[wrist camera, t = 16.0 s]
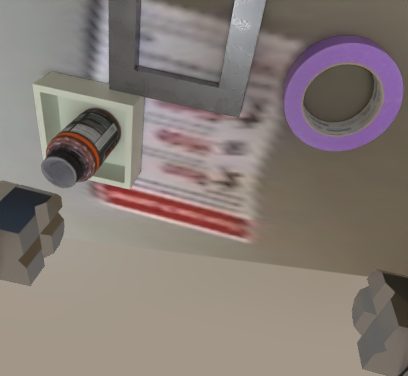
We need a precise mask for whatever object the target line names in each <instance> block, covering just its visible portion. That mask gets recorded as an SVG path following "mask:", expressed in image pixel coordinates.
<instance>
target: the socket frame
mask: <svg viewBox="0 0 408 376" xmlns="http://www.w3.org/2000/svg"><path fill="white" fill-rule="evenodd" d="M265 3H266V0H235V2H234V8H233V13H232V19H231V24H230V30H229V35H228V41H227V46H226V51H225V57H224V62H223V68H222V73H221V79H220V83H215V82H211V81H206V80H201V79H197V78H192V77H187V76H182V75H178V74H173V73H168V72H164V71H159V70H154V69H150V68H145V67H140V66H138V61H139V37H140V12H141V0H109V89H110V90H115V91H119V92H124V93H128V94H133V95H138V96H142V97H147V98H151V99H156V100H161V101H165V102H170V103H174V104H179V105H184V106H188V107H193V108H197V109H202V110H206V111H211V112H216V113H220V114H225V115H229V116H234V117H239V116H240V111H241V107H242V103H243V98H244V94H245V90H246V85H247V81H248V77H249V72H250V68H251V64H252V59H253V55H254V51H255V46H256V42H257V38H258V33H259V29H260V25H261V20H262V16H263V12H264V7H265Z"/></svg>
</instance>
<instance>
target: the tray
mask: <svg viewBox="0 0 408 376" xmlns="http://www.w3.org/2000/svg"><path fill="white" fill-rule="evenodd" d="M33 91H34V98H35V106H36V113H37V120H38V127H39V134H40V141H41V148H42V155H43V161H44V159H45V158H46V148H47V146H48V144H49V142H50V141H51V140H52V139H53V138H54V137H55V136H56V135H57V134H58V133H60V132H61V131H62V130H63V129H64V128H65V127H66V126H67V125H68V124H70V123H71V122H72V121H73V120H74V119H75V118H77V116H79V115H80V114H81V113H83V112H84V111H86V110H88V109H101V110H104V111H106V112H108V113H109V114H110V115H112V116H113V117H114V118H115V120H116V121H117V123H118V125H119V127H120V131H121V133H120V134H121V135H120V140H119V142H118V144H117V146H116V147H115V148H114V150H113V151H112V152H111V153H110V154H109V156H108V157H107V158H106V160H105V161H104V162H103V164H102V165H101V166H100V167H99V169H98V170H97V171H96V172H95V174H94V175H93V176H92V177H91V178H90V179H88V180H92V181H96V182H100V183H105V184H109V185H113V186H117V187H122V188H126V189H131V187H132V185H133V184H134V182H135V180H136V179H137V177H138V175H139V174H140V172H141V158H142V140H143V122H144V103H145V97H142V96H138V95H133V94H128V93H124V92H119V91H115V90H110V89H109V84H106V83H102V82H97V81H92V80H88V79H83V78H79V77H74V76H69V75H65V74H60V73H56V72H52V73H50V74H48V75H46V76H45V77H43V78H41V79H40V80H38V81H36V82H35V83H33Z"/></svg>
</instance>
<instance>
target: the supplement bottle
mask: <svg viewBox="0 0 408 376" xmlns="http://www.w3.org/2000/svg"><path fill="white" fill-rule="evenodd" d="M120 133H121V131H120V127H119V125H118V123H117V121H116V120H115V118H114V117H113V116H112V115H110V114H109V113H108V112H106V111H104V110H101V109H88V110H86V111H84V112H83V113H81V114H80V115H79V116H77V118H75V119H74V120H73V121H72V122H71V123H70V124H68V125H67V126H66V127H65V128H64V129H63V130H62V131H61V132H60V133H58V134H57V135H56V136H55V137H54V138H53V139H52V140H51V141H50V142H49V144H48V146H47V148H46V158H45V159H44V161H43V162H42V165H41V169H42V172H43V175H44V176H45V178H46V179H47V180H48V181H49V182H50V183H52V184H53V185H55V186H58V187H61V188H69V187H72V186H73V185H74V184H75V183H76V182H83V181H86V180H88V179H90V178H91V177H92V176H93V175H94V174H95V172H96V171H97V170H98V169H99V167H100V166H101V165H102V164H103V162H104V161H105V160H106V158H107V157H108V156H109V154H110V153H111V152H112V151H113V150H114V148H115V147H116V146H117V144H118V142H119V140H120V135H121V134H120Z"/></svg>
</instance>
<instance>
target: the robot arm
mask: <svg viewBox="0 0 408 376" xmlns="http://www.w3.org/2000/svg"><path fill="white" fill-rule="evenodd" d="M61 208H62V202H61V196H59V195H58V194H55V193H51V192H47V191H43V190H39V189H36V188H32V187H28V186H24V185H18V184H15V183H11V182H7V181H0V280H5V281H9V282H14V283H19V284H23V285H28V286H31V284H32V283H33V281H34V280H35V279H36V277H37V276H38V274H39V273H40V271H41V270H42V269H43V268H44V266H45V265H44V258H45V257H47V256H49V255H51V254H53V253H54V252H55V250H56V249H57V248H58V246H59V245H60V242H61V239H62V237H63V234H64V219H63V218H62V217H61V215H60V214H59V213H58V211H59V210H60V209H61ZM368 284H369V286H368V287H366V288H363V289H361V290H360V291H359V292H358V294H357V296H356V297H355V299H354V304H353V308H352V318H353V324H354V327H355V328H356V329H357V331H358V332H359V333H360V334H361V338H360V339H359V341H358V342H357V344H358V350H359V355H360V359H361V365H362V369H365V370H369V371H372V372H375V373H379V374H383V375H386V376H408V276H405V275H401V274H396V273H392V272H387V271H383V270H378V269H376V270H374V271H373V272H372V273H371V274H370V276H369V277H368Z"/></svg>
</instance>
